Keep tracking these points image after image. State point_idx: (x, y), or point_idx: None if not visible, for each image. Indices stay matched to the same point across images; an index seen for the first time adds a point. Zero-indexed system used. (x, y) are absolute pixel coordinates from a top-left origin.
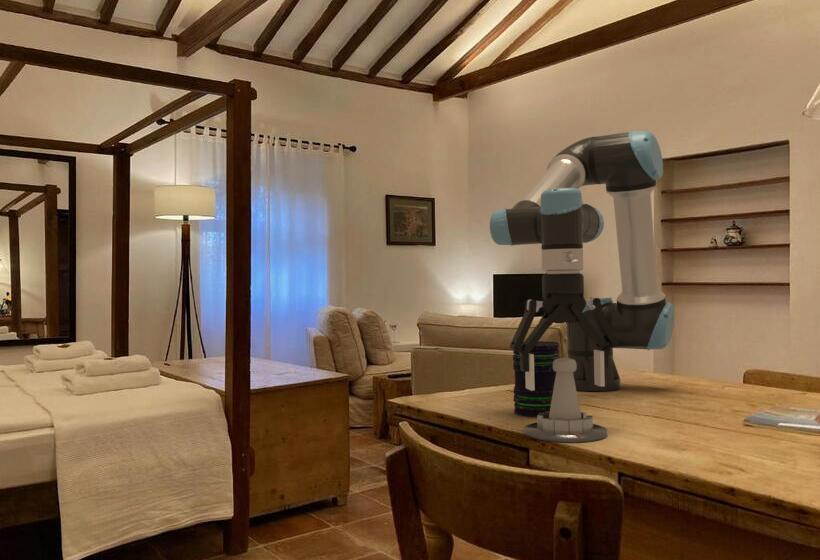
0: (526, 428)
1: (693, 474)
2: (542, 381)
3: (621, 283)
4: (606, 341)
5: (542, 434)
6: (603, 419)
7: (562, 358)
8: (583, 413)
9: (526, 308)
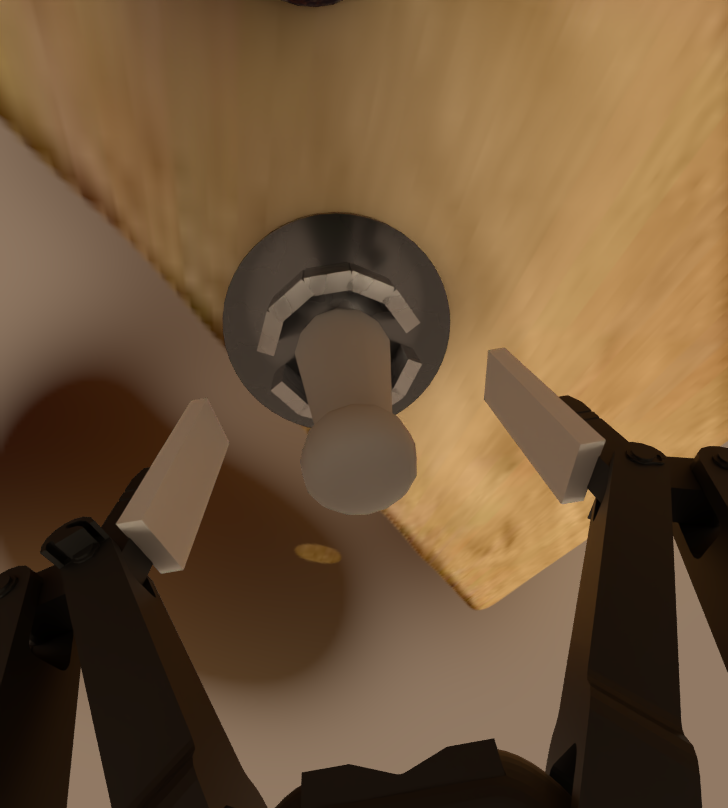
0: (230, 326)
1: (442, 557)
2: None
3: None
4: (687, 498)
5: (271, 395)
6: (540, 112)
7: (353, 481)
8: (407, 331)
9: None
